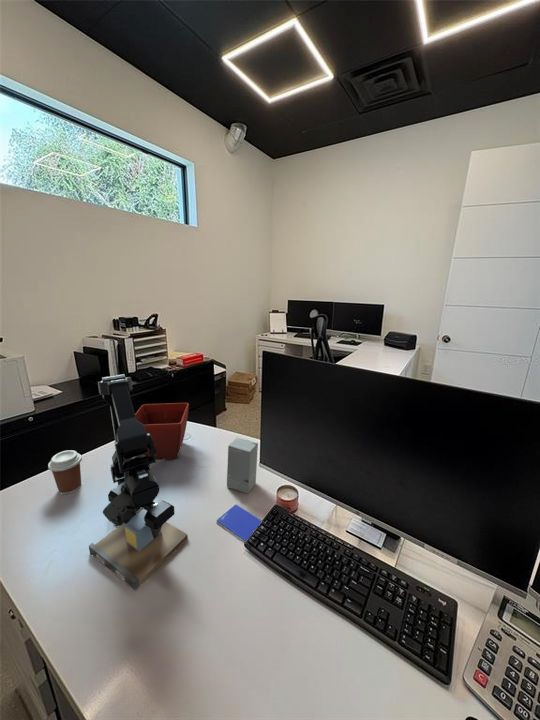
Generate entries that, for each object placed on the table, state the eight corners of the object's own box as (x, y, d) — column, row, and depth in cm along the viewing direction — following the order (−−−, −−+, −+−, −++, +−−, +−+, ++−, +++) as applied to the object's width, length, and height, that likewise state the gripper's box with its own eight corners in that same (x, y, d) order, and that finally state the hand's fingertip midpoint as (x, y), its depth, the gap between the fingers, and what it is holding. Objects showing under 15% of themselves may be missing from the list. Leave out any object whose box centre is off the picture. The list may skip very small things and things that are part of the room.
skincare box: (226, 487, 100) (225, 446, 95) (236, 475, 106) (236, 435, 102) (249, 494, 97) (249, 452, 92) (258, 481, 103) (258, 441, 99)
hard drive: (216, 519, 85) (248, 542, 78) (236, 503, 92) (267, 523, 84) (216, 524, 86) (248, 547, 78) (236, 507, 92) (267, 527, 85)
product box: (149, 524, 83) (147, 506, 81) (161, 531, 80) (159, 513, 79) (126, 543, 77) (123, 524, 75) (138, 552, 74) (136, 532, 73)
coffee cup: (66, 500, 93) (59, 467, 90) (47, 492, 96) (39, 460, 93) (92, 482, 101) (87, 451, 98) (74, 475, 104) (68, 445, 101)
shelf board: (89, 554, 75) (87, 546, 74) (143, 512, 89) (143, 505, 88) (134, 591, 66) (133, 583, 66) (187, 538, 80) (187, 531, 79)
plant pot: (146, 439, 128) (142, 403, 124) (191, 437, 130) (189, 402, 126) (131, 466, 110) (126, 425, 105) (184, 464, 112) (181, 423, 107)
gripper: (83, 484, 71) (92, 536, 76) (132, 515, 62) (140, 572, 67) (125, 460, 81) (131, 508, 85) (173, 485, 72) (178, 536, 76)
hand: (143, 529), depth 78 cm, fingers open, 9 cm apart
